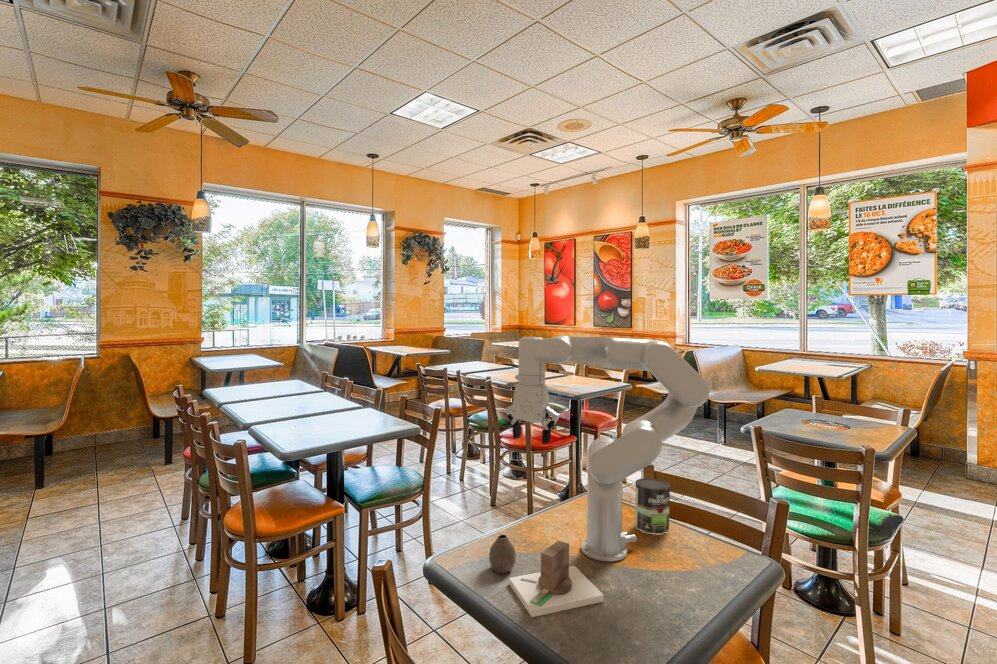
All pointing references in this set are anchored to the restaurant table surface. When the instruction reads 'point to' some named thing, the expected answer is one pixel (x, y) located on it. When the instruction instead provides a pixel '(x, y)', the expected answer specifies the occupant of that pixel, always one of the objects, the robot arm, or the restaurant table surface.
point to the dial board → (550, 603)
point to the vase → (502, 555)
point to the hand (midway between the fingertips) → (531, 440)
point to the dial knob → (554, 570)
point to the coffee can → (652, 506)
